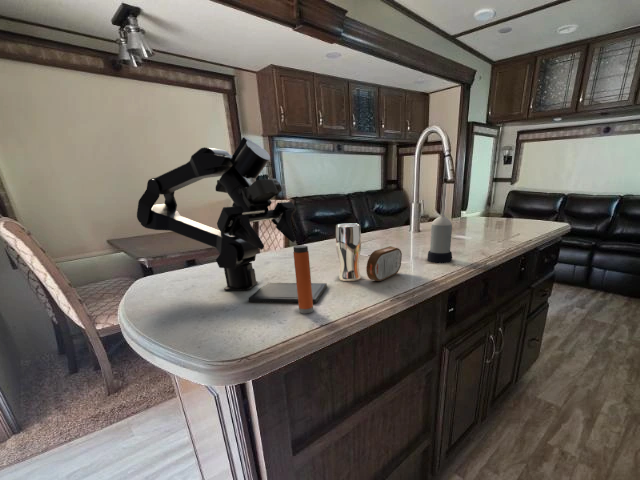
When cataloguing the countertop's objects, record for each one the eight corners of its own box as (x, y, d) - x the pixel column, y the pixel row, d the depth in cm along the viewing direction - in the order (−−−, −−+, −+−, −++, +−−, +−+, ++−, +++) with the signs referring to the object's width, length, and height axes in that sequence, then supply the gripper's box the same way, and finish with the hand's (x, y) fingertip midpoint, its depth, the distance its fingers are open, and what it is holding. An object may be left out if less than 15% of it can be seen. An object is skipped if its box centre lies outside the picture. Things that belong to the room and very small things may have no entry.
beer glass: (363, 275, 93) (362, 223, 88) (360, 282, 87) (359, 226, 82) (340, 274, 94) (337, 223, 89) (335, 281, 88) (332, 226, 82)
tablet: (248, 302, 74) (248, 297, 73) (268, 286, 85) (267, 282, 84) (316, 303, 72) (315, 298, 72) (326, 286, 83) (326, 282, 83)
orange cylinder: (297, 313, 67) (290, 248, 62) (301, 308, 70) (295, 245, 65) (311, 313, 67) (305, 248, 62) (314, 308, 69) (309, 245, 64)
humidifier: (455, 259, 109) (462, 182, 100) (445, 264, 103) (451, 183, 94) (434, 256, 114) (438, 182, 105) (423, 261, 108) (426, 183, 99)
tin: (394, 270, 97) (394, 243, 94) (403, 272, 95) (404, 244, 92) (365, 283, 86) (364, 252, 83) (375, 285, 84) (374, 254, 81)
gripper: (213, 164, 62) (257, 225, 60) (286, 166, 76) (324, 216, 74) (200, 205, 69) (239, 261, 67) (269, 200, 83) (303, 246, 81)
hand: (279, 244), depth 72 cm, fingers open, 9 cm apart
